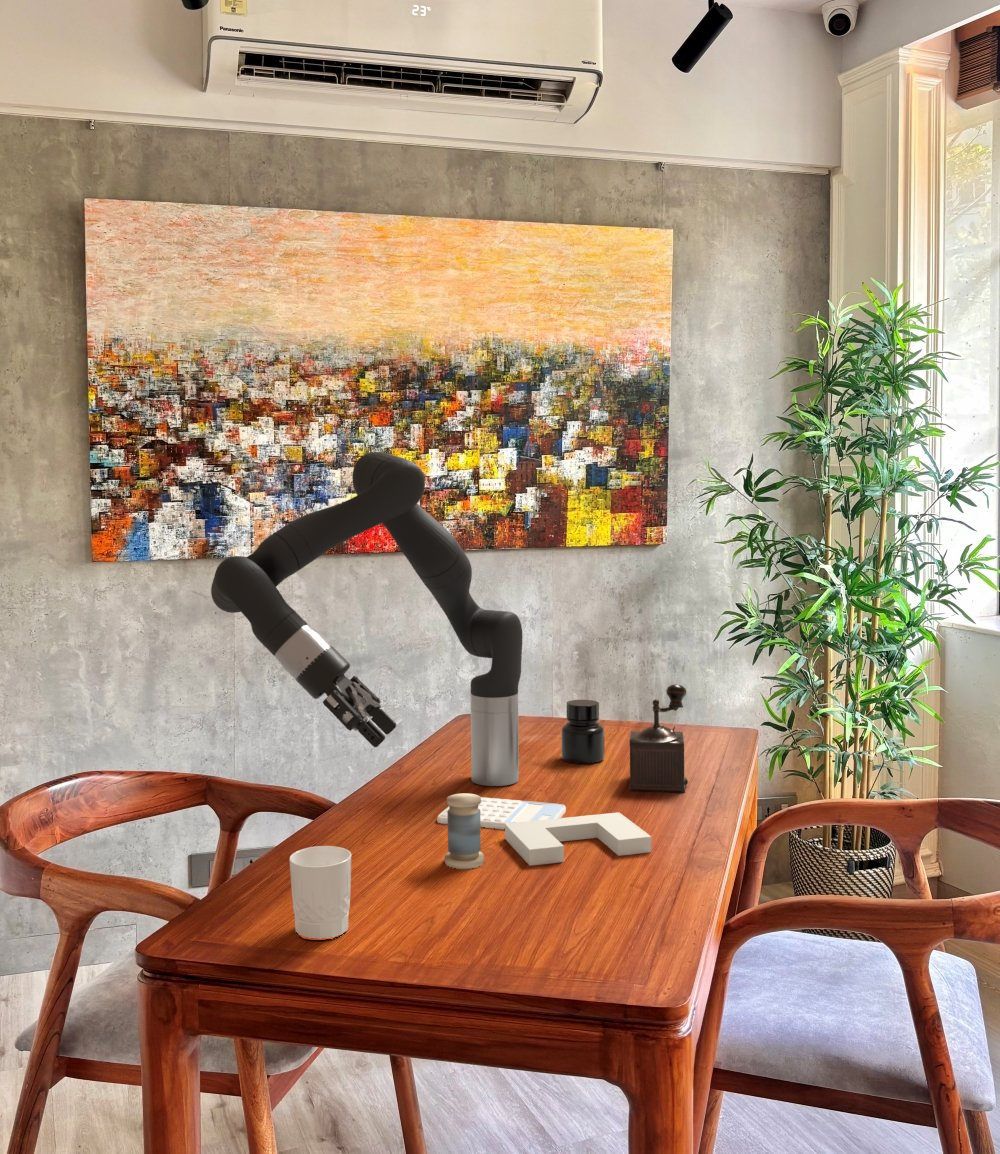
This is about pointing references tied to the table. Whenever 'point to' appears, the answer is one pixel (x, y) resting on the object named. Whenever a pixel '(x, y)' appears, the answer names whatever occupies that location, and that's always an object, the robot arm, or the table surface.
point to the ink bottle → (582, 733)
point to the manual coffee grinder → (659, 752)
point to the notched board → (575, 836)
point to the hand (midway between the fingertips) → (386, 736)
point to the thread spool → (464, 832)
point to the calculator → (511, 812)
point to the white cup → (321, 890)
